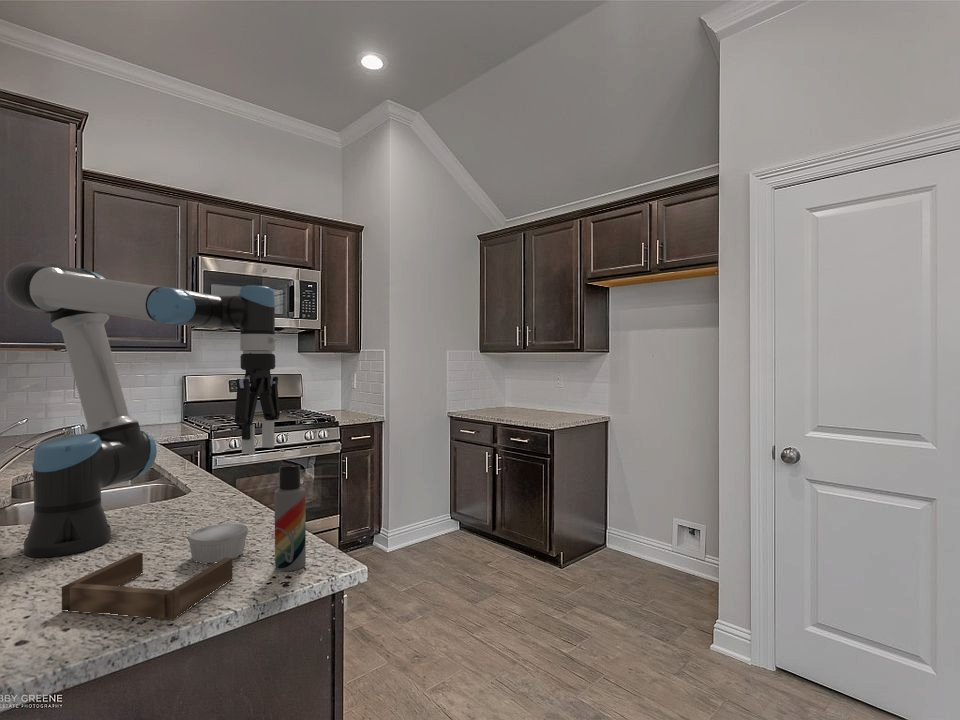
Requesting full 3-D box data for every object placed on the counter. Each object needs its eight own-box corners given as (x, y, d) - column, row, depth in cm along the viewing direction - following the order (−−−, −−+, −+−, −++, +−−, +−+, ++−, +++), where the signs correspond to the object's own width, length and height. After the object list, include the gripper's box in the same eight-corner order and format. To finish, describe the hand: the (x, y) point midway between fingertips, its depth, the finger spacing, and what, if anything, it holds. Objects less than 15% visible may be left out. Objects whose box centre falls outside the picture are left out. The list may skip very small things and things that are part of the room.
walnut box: (61, 611, 86) (61, 586, 86) (135, 573, 101) (135, 552, 101) (173, 620, 83) (172, 594, 83) (232, 579, 98) (232, 558, 98)
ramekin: (206, 546, 116) (206, 522, 116) (257, 546, 116) (257, 522, 116) (175, 567, 105) (175, 540, 105) (231, 567, 104) (231, 540, 104)
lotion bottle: (275, 574, 101) (274, 468, 101) (274, 563, 106) (273, 463, 106) (307, 569, 103) (306, 466, 103) (304, 558, 108) (303, 460, 108)
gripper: (247, 352, 114) (248, 459, 114) (294, 352, 134) (295, 443, 134) (215, 352, 115) (216, 458, 115) (267, 353, 135) (267, 442, 136)
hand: (258, 450), depth 125 cm, fingers open, 8 cm apart
